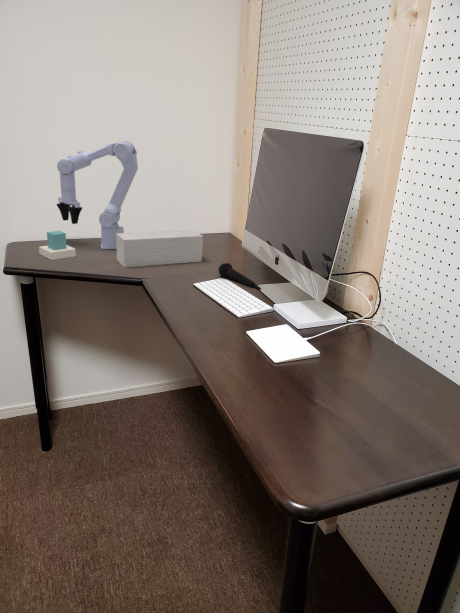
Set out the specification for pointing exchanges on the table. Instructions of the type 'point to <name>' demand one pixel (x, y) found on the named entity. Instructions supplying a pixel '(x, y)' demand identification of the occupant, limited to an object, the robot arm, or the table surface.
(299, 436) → the table surface
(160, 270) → the table surface
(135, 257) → the stack of papers
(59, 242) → the teal block
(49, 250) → the cream plinth
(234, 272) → the microphone
